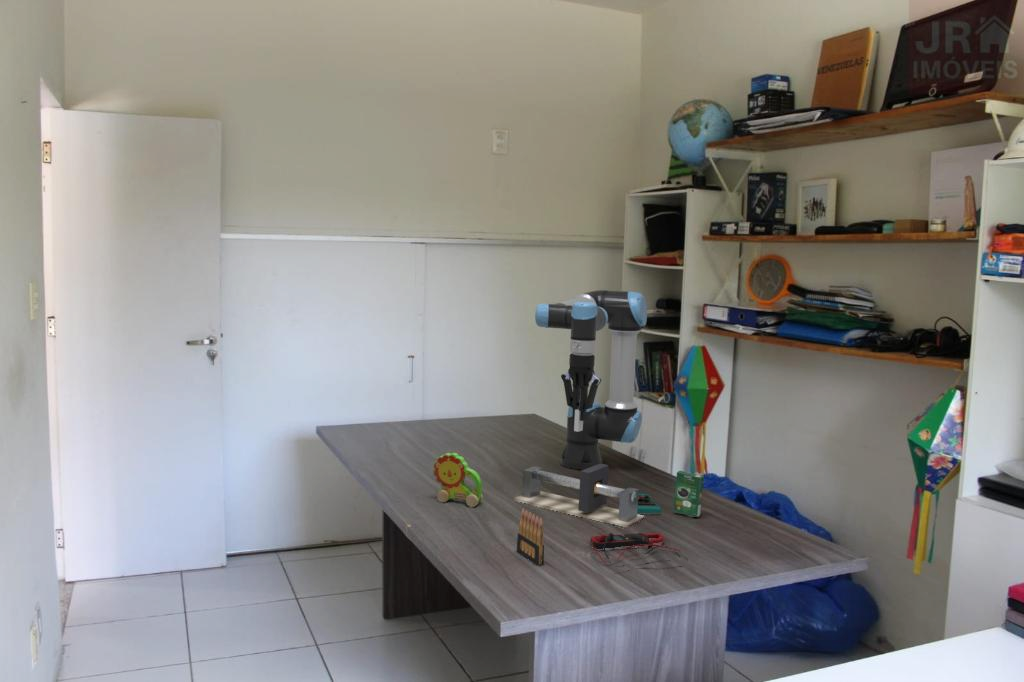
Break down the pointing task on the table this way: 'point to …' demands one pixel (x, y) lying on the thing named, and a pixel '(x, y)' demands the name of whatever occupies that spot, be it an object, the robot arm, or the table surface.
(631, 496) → the pipe
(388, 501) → the table surface
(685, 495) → the coffee box
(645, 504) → the digital multimeter
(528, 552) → the ammunition clip
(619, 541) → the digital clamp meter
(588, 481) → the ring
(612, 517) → the board
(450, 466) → the toy lion
